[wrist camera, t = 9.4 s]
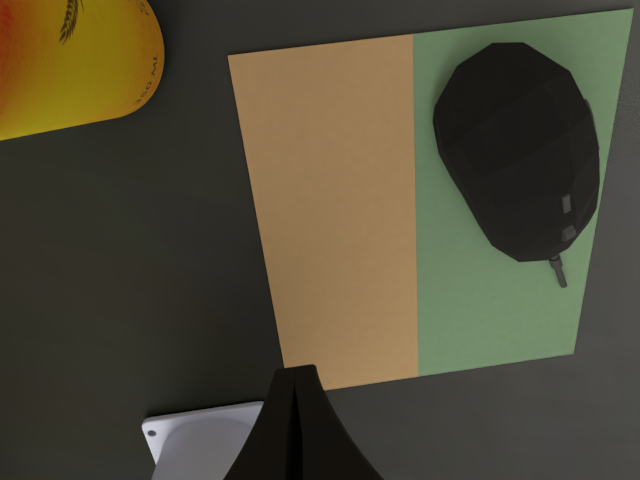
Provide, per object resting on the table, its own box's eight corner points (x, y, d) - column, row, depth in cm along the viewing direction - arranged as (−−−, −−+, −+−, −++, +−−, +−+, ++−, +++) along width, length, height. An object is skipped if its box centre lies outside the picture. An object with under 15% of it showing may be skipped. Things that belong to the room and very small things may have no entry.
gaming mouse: (514, 310, 24) (556, 351, 20) (406, 94, 19) (436, 96, 15) (610, 257, 23) (672, 290, 19) (526, 15, 18) (589, -3, 14)
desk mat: (571, 352, 26) (573, 353, 26) (289, 393, 25) (289, 395, 25) (631, 8, 18) (633, 8, 18) (227, 55, 17) (227, 55, 17)
